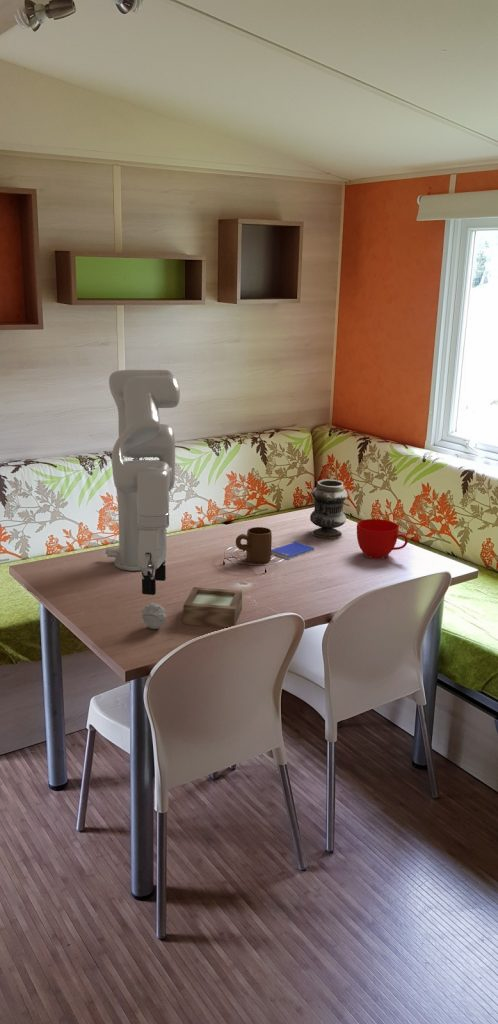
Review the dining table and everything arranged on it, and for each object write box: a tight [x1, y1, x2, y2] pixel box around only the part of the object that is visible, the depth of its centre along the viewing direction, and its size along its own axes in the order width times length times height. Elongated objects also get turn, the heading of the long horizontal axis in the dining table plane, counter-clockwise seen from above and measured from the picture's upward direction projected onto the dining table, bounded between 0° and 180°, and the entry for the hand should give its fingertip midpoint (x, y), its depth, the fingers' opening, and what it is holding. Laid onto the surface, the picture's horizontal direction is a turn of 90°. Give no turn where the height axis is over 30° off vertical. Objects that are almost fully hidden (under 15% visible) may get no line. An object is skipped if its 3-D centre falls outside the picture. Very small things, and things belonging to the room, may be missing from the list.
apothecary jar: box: [309, 479, 348, 539], centre depth 281 cm, size 12×12×18 cm
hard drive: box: [271, 541, 315, 561], centre depth 266 cm, size 2×8×12 cm
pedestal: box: [182, 586, 243, 628], centre depth 216 cm, size 13×12×5 cm
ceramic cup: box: [356, 518, 409, 560], centre depth 262 cm, size 13×17×10 cm
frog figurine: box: [141, 602, 167, 630], centre depth 208 cm, size 6×7×7 cm
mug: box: [235, 526, 273, 564], centre depth 256 cm, size 12×8×9 cm, turn 121°
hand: (154, 587), depth 206 cm, fingers open, 9 cm apart
